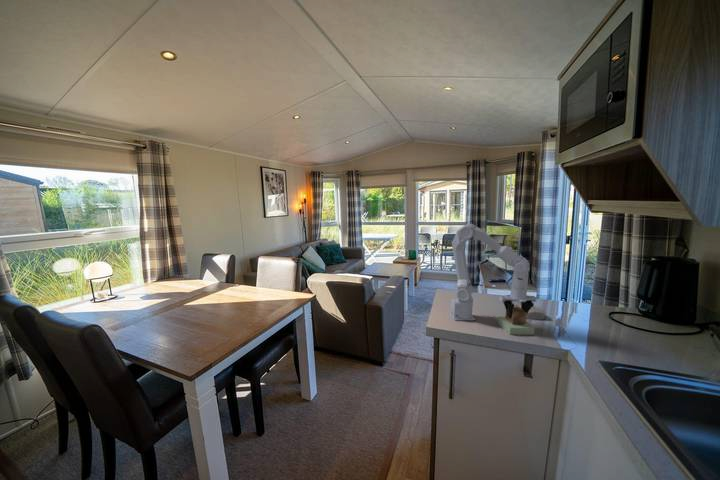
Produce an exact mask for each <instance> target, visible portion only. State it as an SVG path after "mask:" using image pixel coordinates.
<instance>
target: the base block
mask: <svg viewBox="0 0 720 480" xmlns="http://www.w3.org/2000/svg"><path fill="white" fill-rule="evenodd" d="M505 317H506V316H497V324H498V325H499V326H500V327H501V328H502V329H503V330H504V331H505V332H506V333H508V335H509V336H510V335H511V336H512V335H513V336H514V335H518V336H521V335H522V336H523V335H527V336H528V335H532V336H533V335H535V329H536V328H535V326H533V325H532V324H531V323H529V322H528V321H527V320H526V324H512V323H511V322H510V321H509V320H508V319H506V318H505Z"/></svg>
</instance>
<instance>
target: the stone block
mask: <svg viewBox="0 0 720 480" xmlns="http://www.w3.org/2000/svg"><path fill="white" fill-rule="evenodd" d="M514 307H520V308H521V303H517V304H514ZM545 317H546V313H545V311H544V310H543V309H541V308H539V307H538V308H537V307H536V306H535V305H534V304H533V307H531V309H530V310H529V311H528V313H527V315H526V320H528V319H530V321H536V320H537V319H538V320H539V321H540V320H545ZM538 320H537V321H538Z"/></svg>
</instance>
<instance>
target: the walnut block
mask: <svg viewBox="0 0 720 480" xmlns="http://www.w3.org/2000/svg"><path fill="white" fill-rule="evenodd" d="M526 315H527V312H525V311H524V310H523V309H521V308H520V307H515V306H514V308H513V311H512V317H511V318H509V317H508V316H507V312H506V311H505V316H504V317H505V318H506V319H508V320H509V321H510V322H511V323H512V324H526V321H527V319H526Z"/></svg>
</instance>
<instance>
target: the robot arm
mask: <svg viewBox="0 0 720 480" xmlns="http://www.w3.org/2000/svg"><path fill="white" fill-rule="evenodd" d="M470 239H472V240H473V241H481V242H482V243H484V244H485V245H487V247H489V248H490V249H492V250H493V251H494V252H496V257H498V258H499V259H500V260H502V261H503V262H504V263H505V264H506V265H508V266H509V267H512V271H513V273H512V276H511V277H512V278H511V287H510V294H505V295H499V301H500V302H502V303H503V305H504V308H505V313H506V312H507V316H508V317H509V318H511V317H512V311H513V308H514V307H515V304H514V303H513V302H520V304H521V309H523V310H524V311H525V312H527V313H528V311H529V310H530V309H531V307H533V305H534V303H537V299H538V297H536V296H535V295H527V293H528V285H529V273H530V270H531V267H530V262H529V259H528V260H527V258H526V257H524V256H523V255H522V254H520V255H519V254H518V253H517V252H515V251H514V250H513V249H514V248H513V247H511V246H507V245H501V244H500V243H499V242H497V240H496V239H494V238H493V237H491V236H490V234H488V233H486V231H484V230H482V228H480V227H478V226H477V225H475V224H474V223H467V224H464V225H462V226H461V227H459V228H458V229H457V231H456V233H455V235H454V237H453V239H452V241H451V247H452V255H453V258H454V264H455V272H456V278H457V279H456V280H457V282H456V292H455V296H456V298H451V299H450V307H449V315H450V316H451V317H452V319H453V320H454V321H476V318H475V317H474V316H473V308H474V307H473V305H474V298H473V296H472V295H473V294H474V291H475V289H474V286H473V285H472V283H471V279H470V277H469V276H470V275H469V272H468V271H469V270H468V265H467V258H466V250H465V246H464V245H465V244H467V242H468V241H469V240H470Z"/></svg>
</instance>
